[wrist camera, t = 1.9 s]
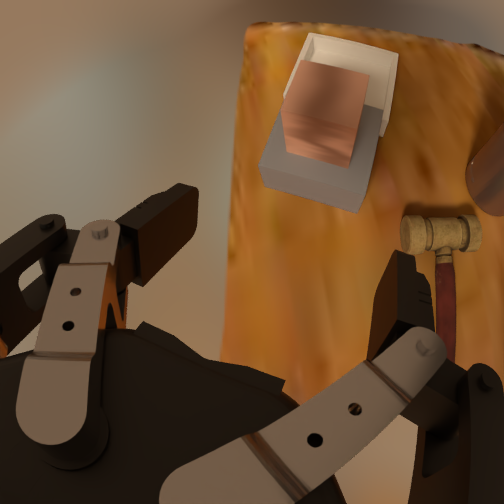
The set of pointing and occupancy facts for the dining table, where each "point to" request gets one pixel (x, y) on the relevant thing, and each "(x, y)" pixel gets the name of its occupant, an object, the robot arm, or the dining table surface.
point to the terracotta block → (323, 112)
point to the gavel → (442, 261)
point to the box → (356, 67)
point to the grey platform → (323, 167)
